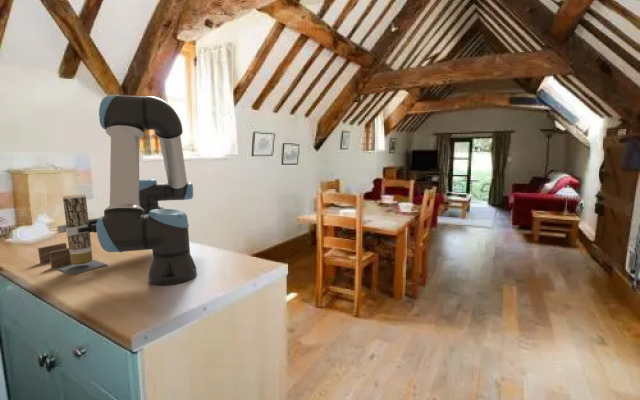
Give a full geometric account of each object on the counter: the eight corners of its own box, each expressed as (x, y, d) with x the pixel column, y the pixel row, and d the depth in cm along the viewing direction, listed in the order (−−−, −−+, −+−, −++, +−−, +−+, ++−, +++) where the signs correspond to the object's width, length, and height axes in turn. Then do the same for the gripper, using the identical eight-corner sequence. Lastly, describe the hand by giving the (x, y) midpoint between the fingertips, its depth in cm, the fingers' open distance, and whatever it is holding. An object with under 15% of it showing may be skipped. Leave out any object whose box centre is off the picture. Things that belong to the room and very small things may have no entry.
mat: (107, 265, 133) (107, 264, 133) (71, 275, 123) (71, 274, 123) (92, 260, 139) (91, 259, 139) (56, 269, 129) (56, 268, 129)
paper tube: (81, 265, 127) (74, 197, 123) (66, 264, 128) (57, 196, 124) (97, 259, 133) (90, 194, 129) (82, 258, 135) (74, 194, 131)
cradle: (79, 261, 137) (77, 246, 137) (52, 268, 130) (50, 252, 129) (66, 256, 144) (64, 242, 143) (40, 263, 136) (38, 248, 135)
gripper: (141, 231, 139) (76, 245, 120) (115, 225, 149) (51, 237, 130) (139, 212, 138) (73, 223, 119) (113, 208, 148) (49, 217, 129)
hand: (62, 231), depth 124 cm, fingers closed on paper tube, 7 cm apart
